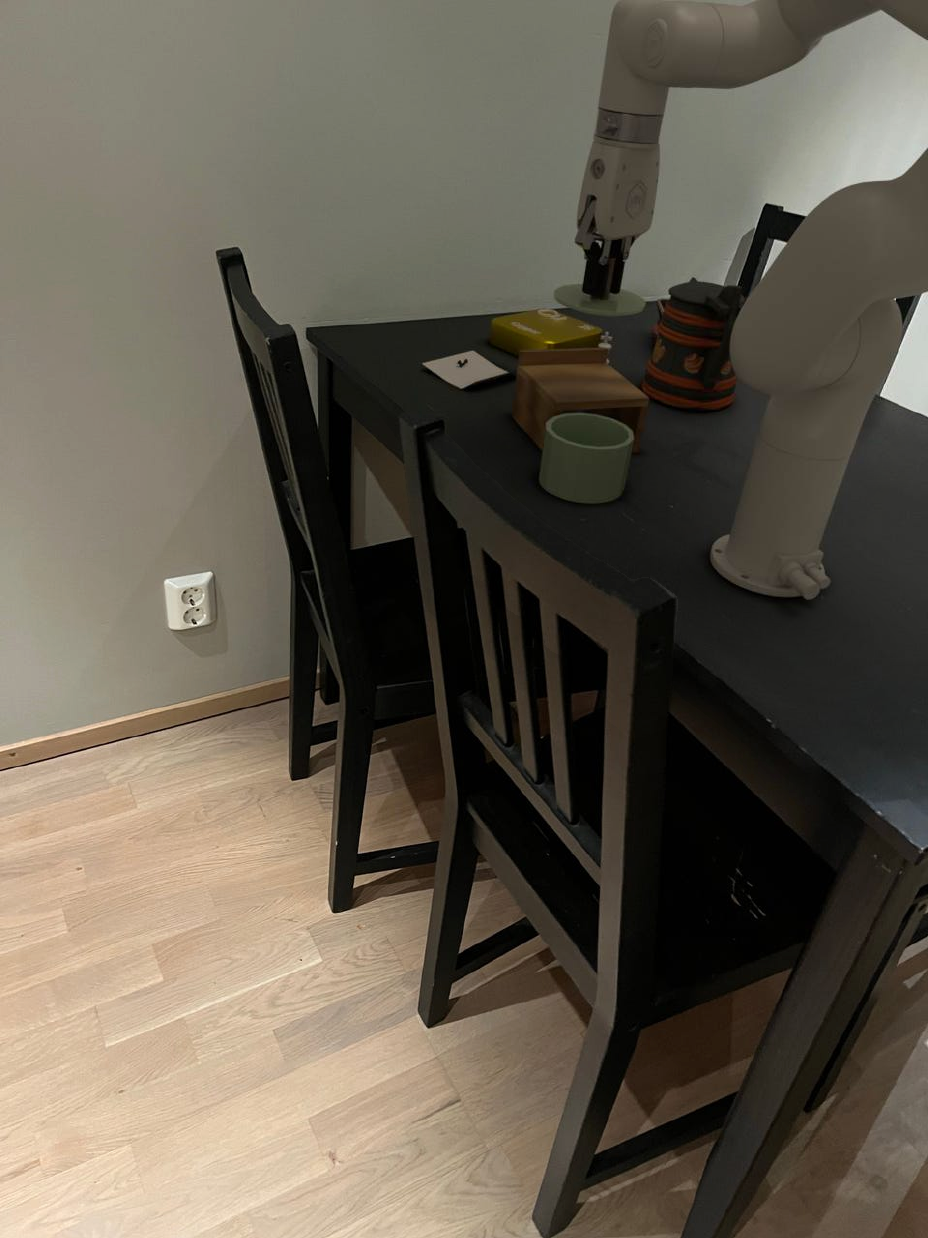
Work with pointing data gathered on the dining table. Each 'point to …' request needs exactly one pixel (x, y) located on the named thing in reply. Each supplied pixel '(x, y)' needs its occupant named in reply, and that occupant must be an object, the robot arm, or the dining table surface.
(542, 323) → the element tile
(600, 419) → the pot
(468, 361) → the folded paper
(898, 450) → the dining table surface
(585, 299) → the lid
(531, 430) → the shelf
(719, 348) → the beer stein
